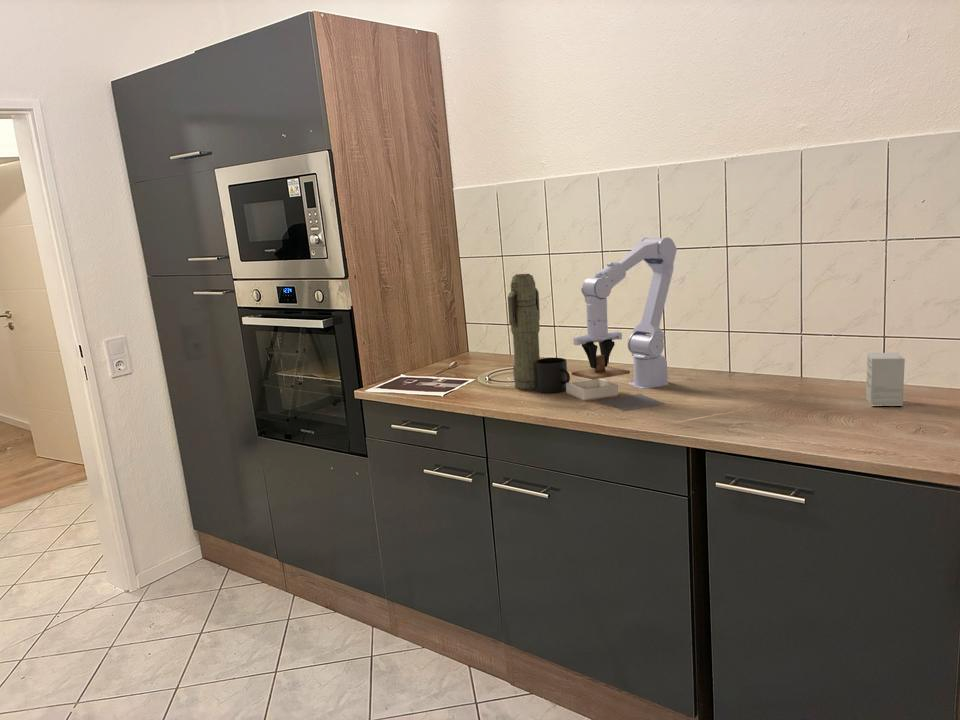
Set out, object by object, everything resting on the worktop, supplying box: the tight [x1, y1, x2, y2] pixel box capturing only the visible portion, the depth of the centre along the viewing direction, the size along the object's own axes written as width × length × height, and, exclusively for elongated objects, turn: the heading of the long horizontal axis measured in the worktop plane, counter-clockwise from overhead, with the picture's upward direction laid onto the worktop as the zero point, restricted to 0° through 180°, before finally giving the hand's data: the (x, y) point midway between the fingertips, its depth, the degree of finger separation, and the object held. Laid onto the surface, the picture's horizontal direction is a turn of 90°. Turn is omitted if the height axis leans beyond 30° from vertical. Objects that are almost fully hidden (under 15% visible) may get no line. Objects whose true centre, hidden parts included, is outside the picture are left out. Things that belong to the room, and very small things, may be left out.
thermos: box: [507, 273, 541, 391], centre depth 226 cm, size 9×12×35 cm
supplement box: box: [865, 352, 906, 407], centre depth 186 cm, size 7×7×13 cm
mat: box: [599, 393, 666, 412], centre depth 203 cm, size 13×13×1 cm
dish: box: [565, 378, 619, 402], centre depth 214 cm, size 11×11×4 cm
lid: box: [570, 354, 631, 380], centre depth 209 cm, size 12×12×5 cm
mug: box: [535, 357, 571, 394], centre depth 222 cm, size 9×12×9 cm
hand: (598, 366), depth 210 cm, fingers closed on lid, 3 cm apart
